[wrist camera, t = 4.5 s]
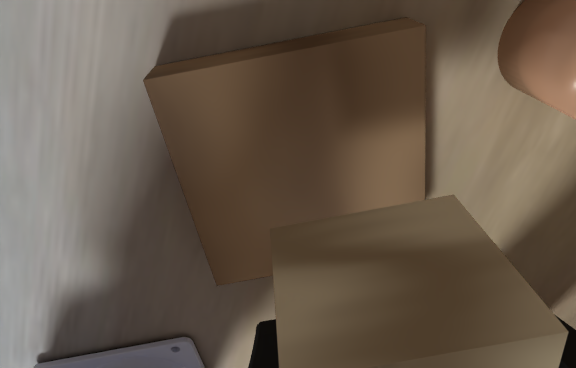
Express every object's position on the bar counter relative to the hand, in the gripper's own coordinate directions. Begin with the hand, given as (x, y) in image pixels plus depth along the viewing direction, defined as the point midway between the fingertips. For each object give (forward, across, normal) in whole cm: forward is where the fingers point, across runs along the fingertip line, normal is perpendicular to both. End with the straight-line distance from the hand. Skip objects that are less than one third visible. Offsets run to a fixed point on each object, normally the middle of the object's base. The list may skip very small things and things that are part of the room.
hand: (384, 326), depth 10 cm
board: (+9, +1, -1) cm, 9 cm away
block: (+2, 0, 0) cm, 2 cm away
